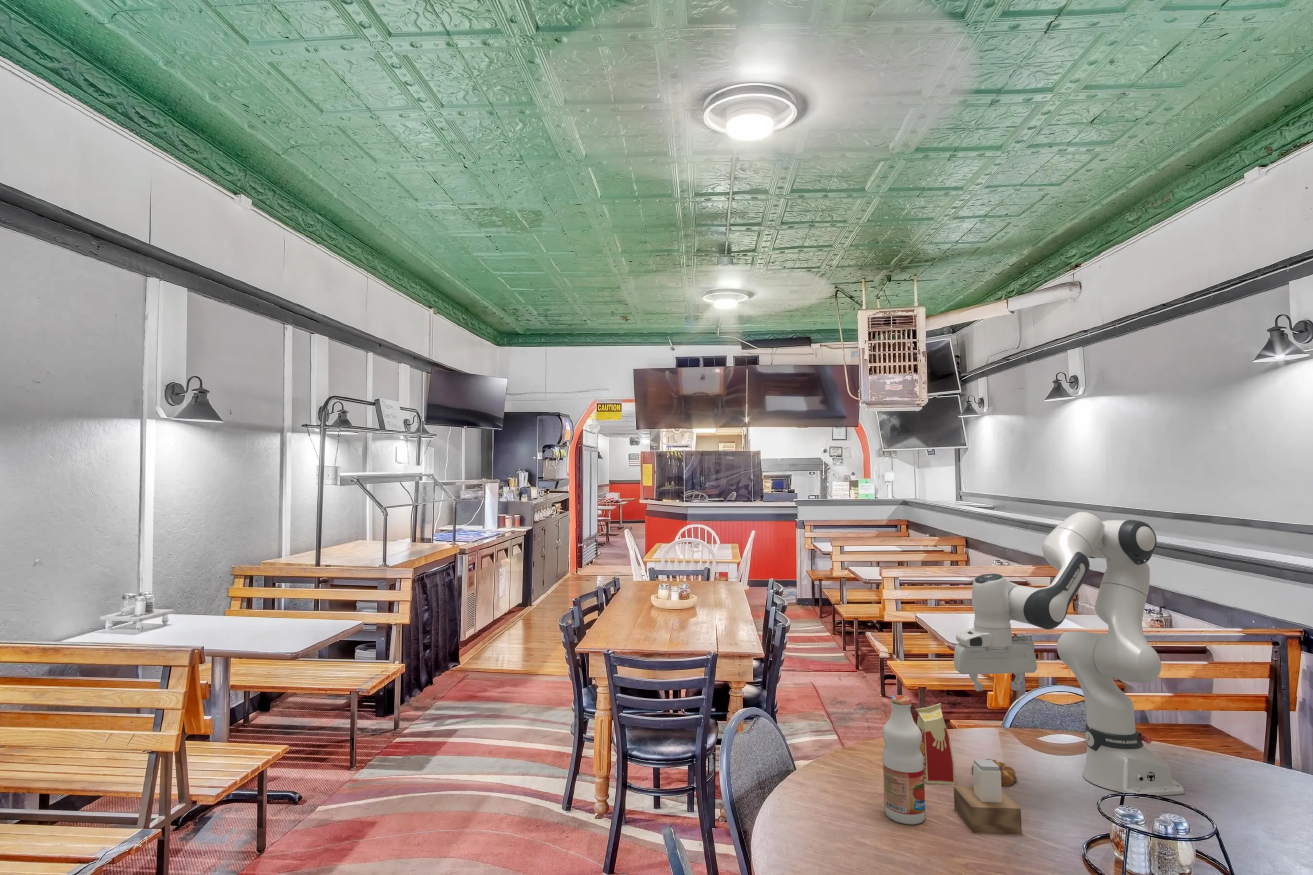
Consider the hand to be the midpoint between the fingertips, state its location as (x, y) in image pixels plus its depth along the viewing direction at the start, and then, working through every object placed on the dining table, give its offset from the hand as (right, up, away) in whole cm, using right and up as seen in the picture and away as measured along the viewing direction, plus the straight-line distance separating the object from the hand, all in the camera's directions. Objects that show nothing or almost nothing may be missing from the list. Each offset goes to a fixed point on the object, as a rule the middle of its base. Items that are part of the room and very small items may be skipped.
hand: (997, 690), depth 172 cm
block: (-11, -26, -16) cm, 32 cm away
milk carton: (-13, -28, +9) cm, 32 cm away
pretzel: (+4, -28, +9) cm, 30 cm away
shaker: (-10, -20, -16) cm, 27 cm away
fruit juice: (-29, -26, -13) cm, 41 cm away
